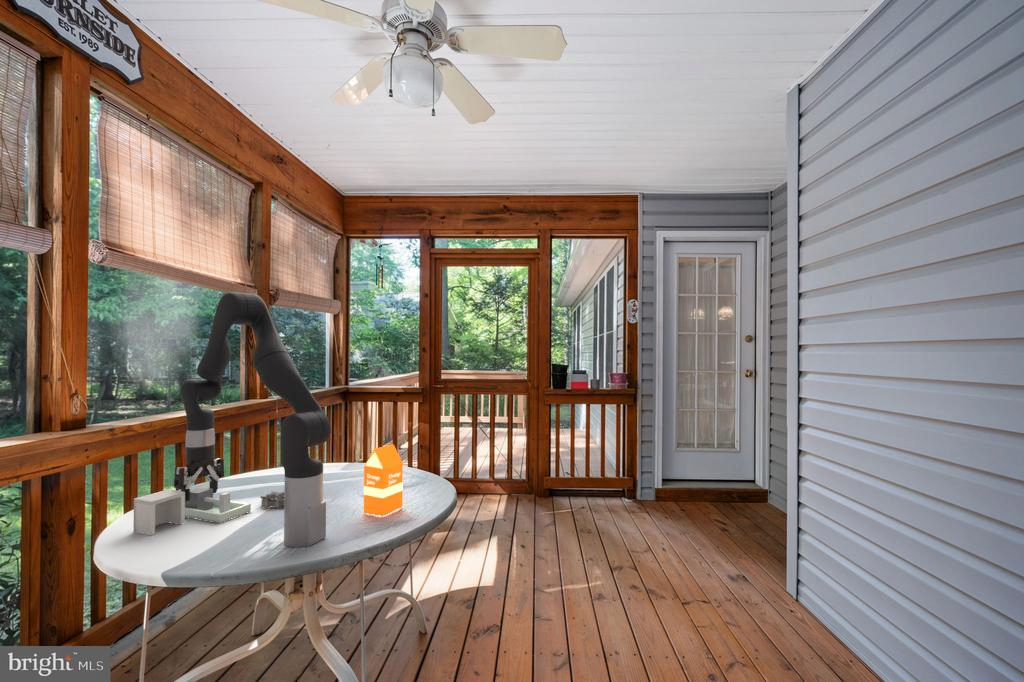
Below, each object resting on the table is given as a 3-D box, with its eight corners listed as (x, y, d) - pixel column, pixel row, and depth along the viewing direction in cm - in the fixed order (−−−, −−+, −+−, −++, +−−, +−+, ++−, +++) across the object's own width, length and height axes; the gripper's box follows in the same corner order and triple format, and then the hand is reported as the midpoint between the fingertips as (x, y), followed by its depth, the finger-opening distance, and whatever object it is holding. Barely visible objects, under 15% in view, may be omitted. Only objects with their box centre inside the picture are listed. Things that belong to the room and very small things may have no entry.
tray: (250, 512, 143) (250, 503, 143) (220, 523, 134) (220, 514, 134) (203, 504, 150) (203, 496, 150) (171, 515, 140) (171, 506, 140)
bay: (184, 523, 133) (184, 491, 134) (150, 535, 125) (151, 501, 125) (167, 520, 136) (167, 489, 136) (133, 532, 127) (133, 498, 127)
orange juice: (363, 514, 141) (363, 447, 141) (384, 505, 149) (384, 442, 149) (382, 518, 138) (383, 450, 138) (403, 509, 145) (403, 445, 146)
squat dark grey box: (234, 511, 142) (234, 491, 142) (219, 517, 137) (219, 496, 137) (199, 505, 147) (199, 486, 147) (183, 511, 142) (183, 491, 142)
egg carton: (258, 509, 146) (258, 496, 146) (267, 501, 153) (267, 489, 153) (294, 508, 147) (294, 495, 147) (301, 500, 155) (301, 488, 155)
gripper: (186, 449, 136) (185, 505, 135) (230, 440, 149) (230, 491, 149) (168, 447, 138) (167, 502, 138) (213, 438, 152) (212, 489, 151)
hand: (199, 496), depth 143 cm, fingers open, 8 cm apart
